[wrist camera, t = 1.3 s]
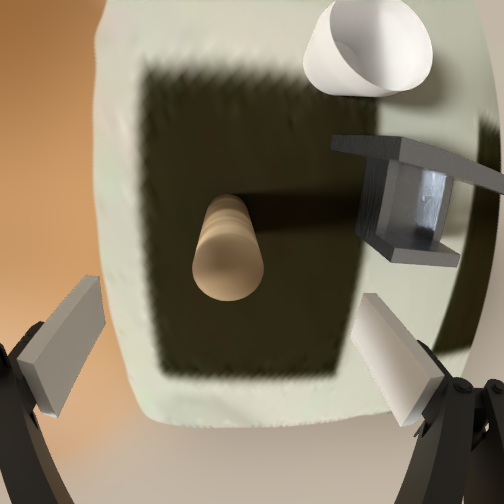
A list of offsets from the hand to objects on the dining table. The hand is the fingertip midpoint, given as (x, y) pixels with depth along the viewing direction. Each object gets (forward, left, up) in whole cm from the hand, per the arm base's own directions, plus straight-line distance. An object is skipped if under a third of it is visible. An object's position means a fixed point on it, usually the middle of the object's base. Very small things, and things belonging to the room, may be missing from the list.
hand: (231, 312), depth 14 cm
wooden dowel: (0, 0, -19) cm, 19 cm away
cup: (-18, +9, -19) cm, 27 cm away
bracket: (-4, +19, -19) cm, 27 cm away
